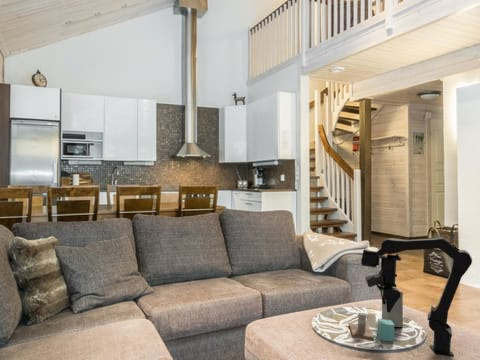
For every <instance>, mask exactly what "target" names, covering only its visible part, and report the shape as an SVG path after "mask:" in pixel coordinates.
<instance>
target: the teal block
mask: <svg viewBox="0 0 480 360" xmlns="http://www.w3.org/2000/svg"><path fill="white" fill-rule="evenodd" d="M394 327H395V325H394V324H393V322H392V320H385V319H382V318H378V319H377V329H376V332H377V333H376V334H377V338H378V340H379V341H384V342H392V343H393V342H394V341H395V328H394Z"/></svg>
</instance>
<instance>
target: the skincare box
mask: <svg viewBox="0 0 480 360" xmlns="http://www.w3.org/2000/svg"><path fill="white" fill-rule="evenodd" d="M393 288H397V286H396V287H393ZM397 289H398V290H399V292H400V293H401V295H400V298H399V299H398V300H397V302H396V303H395V305H394V306H393V308H392V310H391V311H390V312H387V309H386V304H385V305H384V304H382V303H381V319H385V320H392V322H393V324H394V325H395V327H402V328H401V329H403V327H404V321H403V320H404V319H403V318H404V315H403V314H404V313H403V309H404V308H403V305H404V304H403V303H404V302H403V301H404V300H403V297H404V296H403V295H404V294H403V291H401V290H400V289H399V288H397Z"/></svg>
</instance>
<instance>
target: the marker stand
mask: <svg viewBox="0 0 480 360" xmlns="http://www.w3.org/2000/svg"><path fill="white" fill-rule="evenodd" d="M357 318H358V319H357V323H351V322H350V323H349V322H348V327H349V329H350V332H351V336H352V338H354V339H355V338H356V339H363V340H372V341H373V340H374V339H375V337H374V334H373V332H372V330H371V328H370V326H369V325H368V324H367V314H366V313H365V312H358V317H357Z"/></svg>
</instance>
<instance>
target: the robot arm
mask: <svg viewBox="0 0 480 360" xmlns="http://www.w3.org/2000/svg"><path fill="white" fill-rule="evenodd" d="M416 250H417V251H418V250H420V251H421V250H441V252H443V253H444V254H446V255H447V256H448V257H449V258H451V259H452V261H451V268H450V273H449V275H448V278H447V280H446V282H445V285H444V287H443V291H442V292H441V294H440V295H441V296H440V298H439V301H438V303H437V305H436V306H435V307H434V306H433V305H431V307H430V310H429V313H428V314H427V318H426V319H427V321H428V327H429V328H430V329H431V331H433V340H432V341H433V344H429V347H430V349H431V350H432V351H433V352H434V354H436V355H441V356H444V355H445V356H453V357H454V356H455V354H454V353H453V351H452V350H451V347H452V344H451V342H452V336H453V333H452V332H453V331H452V327H451V326H450V325H449V324H448V315H449V310H450V308H451V305H452V302H453V299H454V297H455V295H456V292H457V289H458V288H459V285H460V282H461V281H462V278H463V276H464V275H465V274H466V273H467V271H468V270H469V269H470V267H471V265H472V264H473V258H472V256H471V254H470V253H469V252H468V251H467V250H466V249H460V248H459V247H456V246H455V245H454V244H453V243H450V241H448V240H447V239H446V238H444V237H438V238H436V237H435V238H419V239H417V238H416V239H403V238H402V239H401V238H393V237H387V238H385V239H384V240H383V241H382V242H381V247H380V248H378V249H377V251H375V250H369V249H363V250H362V255H361V266H362V267H369V268H373V269H377V267H379V266H380V270H378V273H377V274H370V275H368V276H365V277H364V278H365V281H366V285H367V287H368V288H372V287H375V286H376V287H377V289H378V290H379V291H380V296H381V305H382V304H384V305H385V304H386V309H387V312H390V311H391V310H392V308H393V306H394V305H395V303H396V302H397V300H398V299H399V298H400V295H401V293H400V292H399V290H400V289H399V288H397V284H396V279H397V277H398V273H397V261H399V262H401V261H402V259H403V258H402V257H401V255H400V254H399V253H401V252H406V251H416ZM386 254H387V255H386ZM393 287H396V288H393ZM398 289H399V290H398Z"/></svg>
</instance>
